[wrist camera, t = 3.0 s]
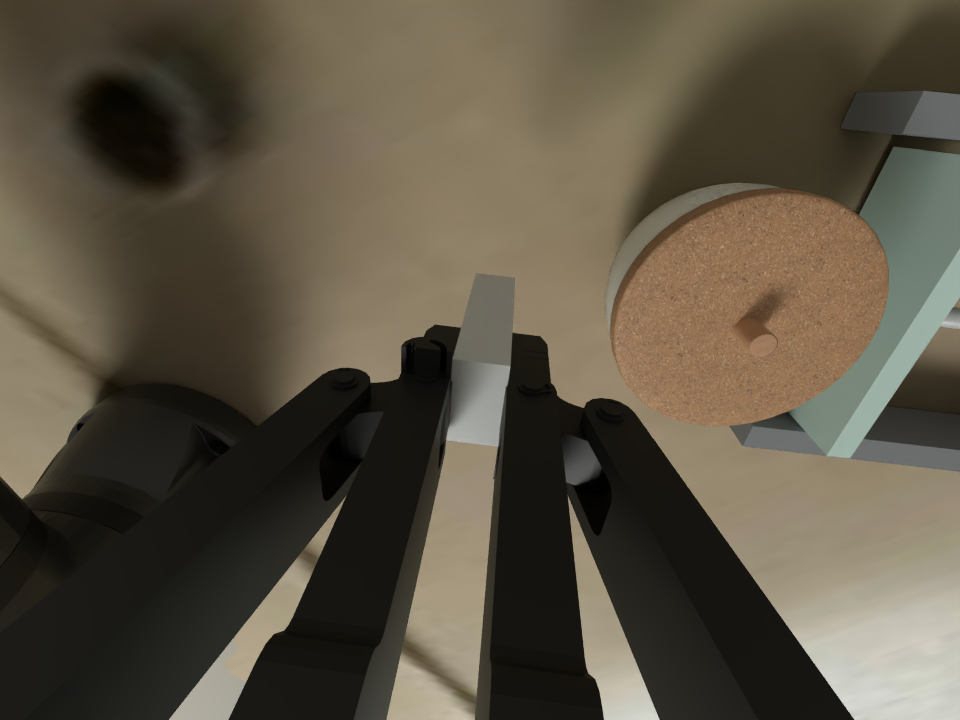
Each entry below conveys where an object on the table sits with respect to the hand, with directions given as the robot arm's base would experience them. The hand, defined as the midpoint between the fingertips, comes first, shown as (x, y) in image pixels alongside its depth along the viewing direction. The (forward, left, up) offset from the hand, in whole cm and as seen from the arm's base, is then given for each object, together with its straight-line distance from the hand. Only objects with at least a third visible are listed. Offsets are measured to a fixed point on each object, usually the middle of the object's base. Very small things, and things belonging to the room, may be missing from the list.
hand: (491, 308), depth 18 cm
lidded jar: (+11, 0, -9) cm, 14 cm away
